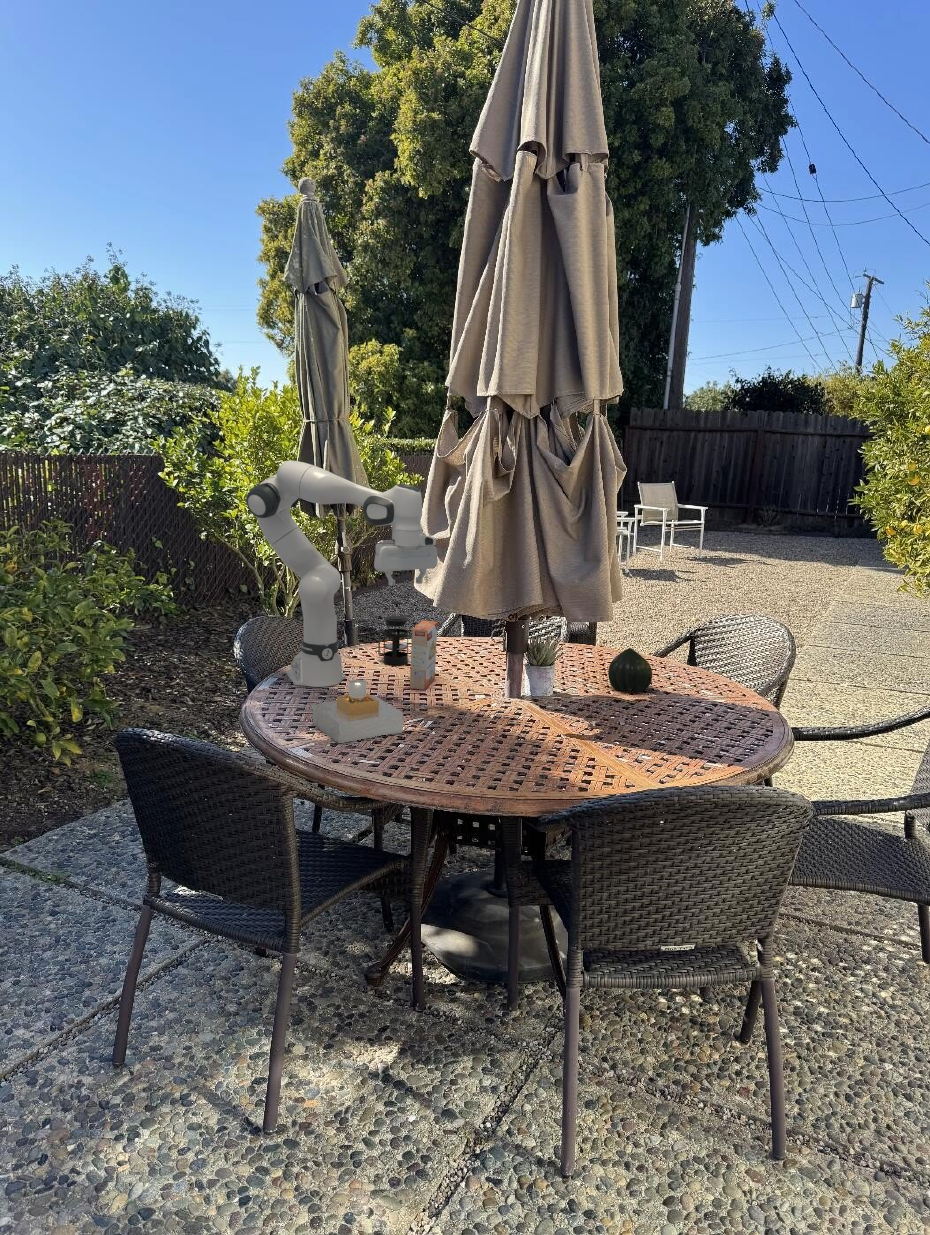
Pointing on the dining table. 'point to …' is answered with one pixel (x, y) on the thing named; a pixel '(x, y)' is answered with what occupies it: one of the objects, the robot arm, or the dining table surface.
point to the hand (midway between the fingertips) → (405, 584)
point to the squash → (630, 672)
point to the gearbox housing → (357, 719)
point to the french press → (395, 640)
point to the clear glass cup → (357, 691)
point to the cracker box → (423, 655)
